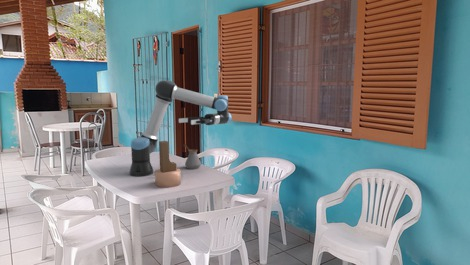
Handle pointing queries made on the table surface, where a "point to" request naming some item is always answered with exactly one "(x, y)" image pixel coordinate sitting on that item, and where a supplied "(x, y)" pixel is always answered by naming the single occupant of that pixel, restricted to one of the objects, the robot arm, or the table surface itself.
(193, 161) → the coffee pot
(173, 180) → the peach disc
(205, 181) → the table surface
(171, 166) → the wooden block
